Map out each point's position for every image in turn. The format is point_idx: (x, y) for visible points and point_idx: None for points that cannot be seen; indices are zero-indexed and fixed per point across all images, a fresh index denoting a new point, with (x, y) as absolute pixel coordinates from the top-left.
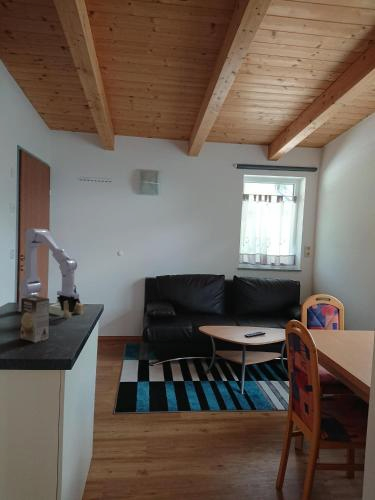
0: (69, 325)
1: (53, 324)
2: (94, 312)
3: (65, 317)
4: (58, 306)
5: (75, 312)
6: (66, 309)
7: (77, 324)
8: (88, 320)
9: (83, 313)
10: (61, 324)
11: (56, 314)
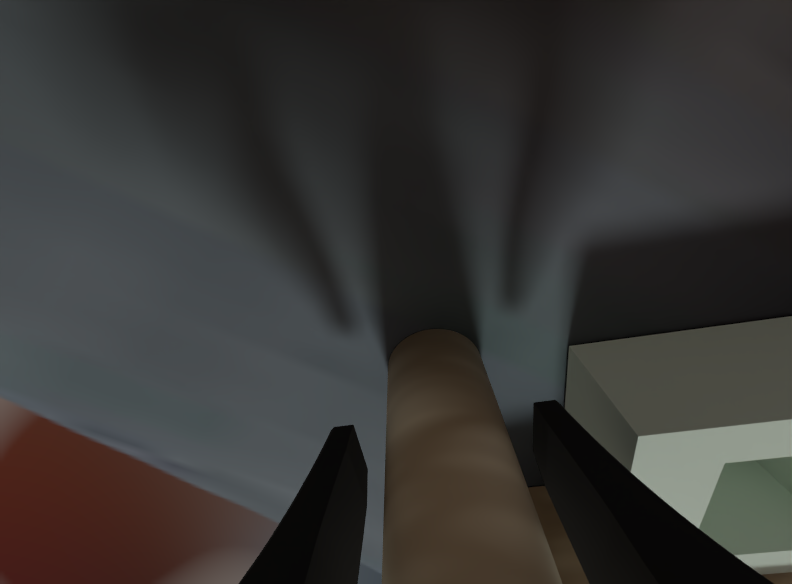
0: (11, 214)
1: (166, 34)
2: None
3: (411, 342)
4: (773, 455)
5: (541, 495)
6: (403, 443)
7: (37, 311)
8: (178, 451)
9: None
10: (113, 149)
11: (667, 336)
